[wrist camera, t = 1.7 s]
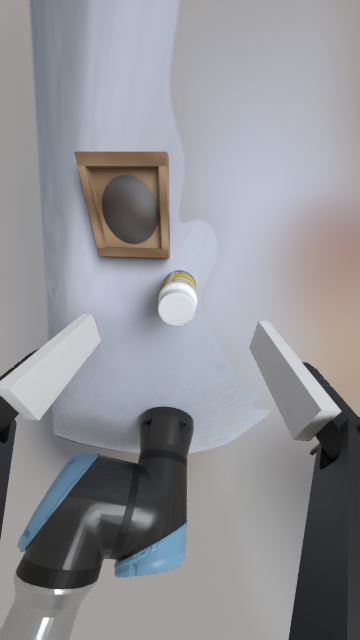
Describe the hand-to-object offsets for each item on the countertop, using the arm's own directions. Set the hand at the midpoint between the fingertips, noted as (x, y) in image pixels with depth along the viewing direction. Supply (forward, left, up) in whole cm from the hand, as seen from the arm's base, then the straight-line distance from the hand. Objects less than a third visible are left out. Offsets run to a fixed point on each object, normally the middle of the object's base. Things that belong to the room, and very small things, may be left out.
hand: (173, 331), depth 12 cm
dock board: (+9, +6, -13) cm, 16 cm away
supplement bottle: (0, 0, -13) cm, 13 cm away
